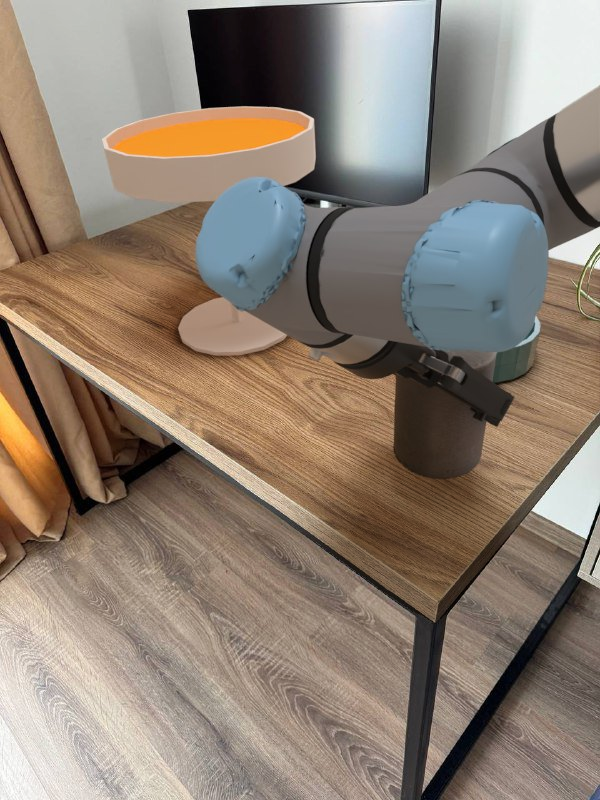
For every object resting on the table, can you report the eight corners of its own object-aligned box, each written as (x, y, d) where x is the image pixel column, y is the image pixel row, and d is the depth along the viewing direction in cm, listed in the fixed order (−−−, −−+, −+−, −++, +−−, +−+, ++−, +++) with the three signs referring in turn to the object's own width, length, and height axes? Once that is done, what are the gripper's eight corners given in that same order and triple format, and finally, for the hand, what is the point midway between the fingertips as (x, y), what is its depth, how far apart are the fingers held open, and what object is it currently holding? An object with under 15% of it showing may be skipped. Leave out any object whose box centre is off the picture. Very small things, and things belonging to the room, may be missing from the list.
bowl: (544, 385, 81) (553, 349, 78) (430, 386, 83) (434, 350, 79) (519, 328, 94) (526, 294, 90) (420, 330, 95) (423, 297, 92)
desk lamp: (113, 339, 99) (56, 143, 80) (232, 273, 117) (208, 101, 98) (244, 396, 84) (210, 170, 65) (357, 310, 102) (356, 114, 83)
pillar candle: (396, 481, 62) (401, 362, 53) (389, 423, 70) (393, 311, 61) (490, 479, 61) (511, 358, 52) (473, 421, 69) (488, 307, 60)
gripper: (247, 319, 53) (364, 386, 71) (455, 423, 39) (536, 473, 57) (286, 245, 53) (394, 330, 70) (509, 323, 39) (574, 405, 57)
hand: (457, 394), depth 64 cm, fingers closed on pillar candle, 10 cm apart
